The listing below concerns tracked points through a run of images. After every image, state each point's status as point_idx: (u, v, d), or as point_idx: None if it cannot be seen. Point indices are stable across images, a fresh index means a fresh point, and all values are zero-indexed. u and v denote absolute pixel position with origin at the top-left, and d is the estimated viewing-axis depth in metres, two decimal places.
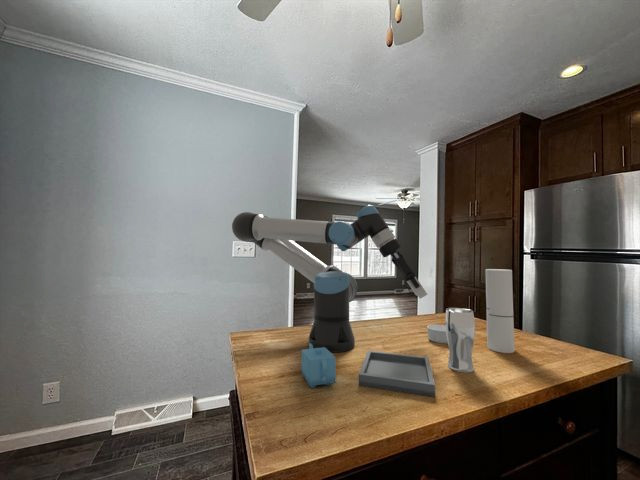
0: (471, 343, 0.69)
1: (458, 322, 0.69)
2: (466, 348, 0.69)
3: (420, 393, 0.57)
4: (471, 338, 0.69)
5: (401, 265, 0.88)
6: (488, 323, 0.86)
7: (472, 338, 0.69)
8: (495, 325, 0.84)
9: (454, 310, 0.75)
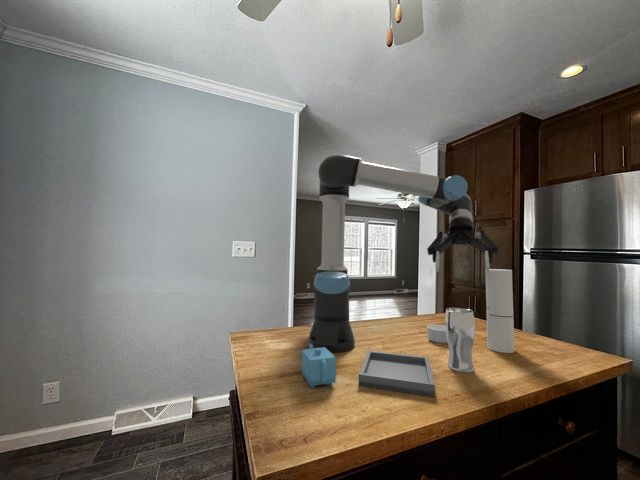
0: (471, 343, 0.69)
1: (458, 322, 0.69)
2: (466, 348, 0.69)
3: (420, 393, 0.57)
4: (471, 338, 0.69)
5: None
6: (488, 323, 0.86)
7: (472, 338, 0.69)
8: (495, 325, 0.84)
9: (454, 310, 0.75)
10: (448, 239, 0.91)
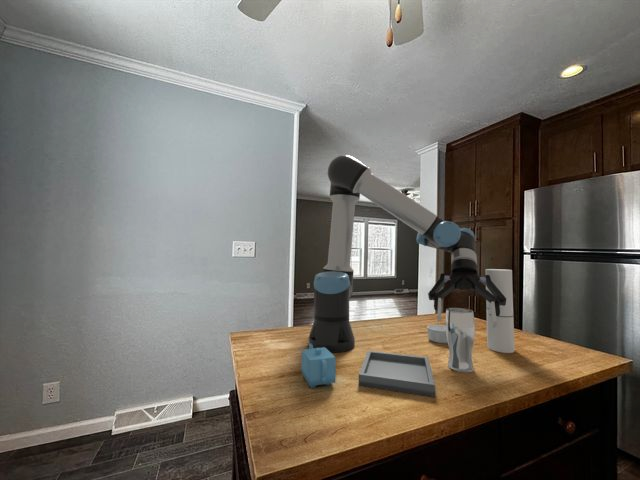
0: (471, 343, 0.69)
1: (458, 322, 0.69)
2: (466, 348, 0.69)
3: (420, 393, 0.57)
4: (471, 338, 0.69)
5: None
6: (488, 323, 0.86)
7: (472, 338, 0.69)
8: None
9: (454, 310, 0.75)
10: (451, 283, 0.84)
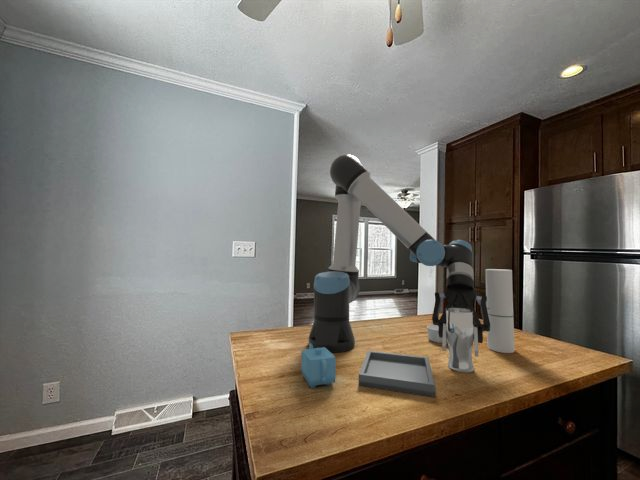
0: (471, 343, 0.69)
1: (458, 321, 0.69)
2: (466, 347, 0.69)
3: (420, 393, 0.57)
4: (471, 338, 0.69)
5: None
6: None
7: (472, 338, 0.69)
8: (495, 325, 0.84)
9: (454, 310, 0.75)
10: (450, 301, 0.78)
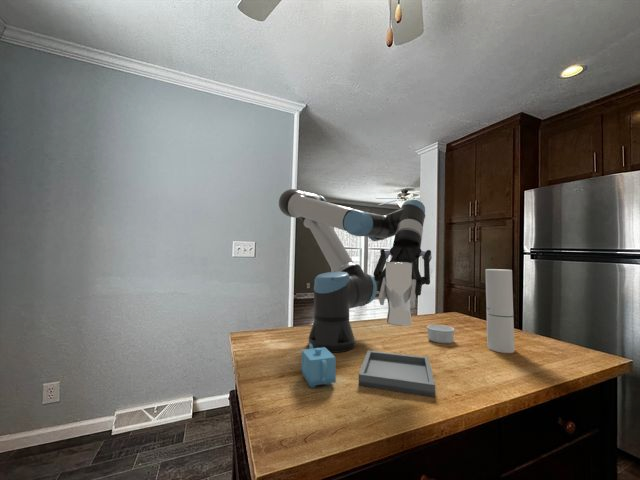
0: (408, 295, 0.65)
1: (395, 272, 0.65)
2: (403, 300, 0.65)
3: (420, 393, 0.57)
4: (408, 290, 0.65)
5: None
6: (488, 323, 0.86)
7: (409, 290, 0.65)
8: (495, 325, 0.84)
9: None
10: (394, 257, 0.74)
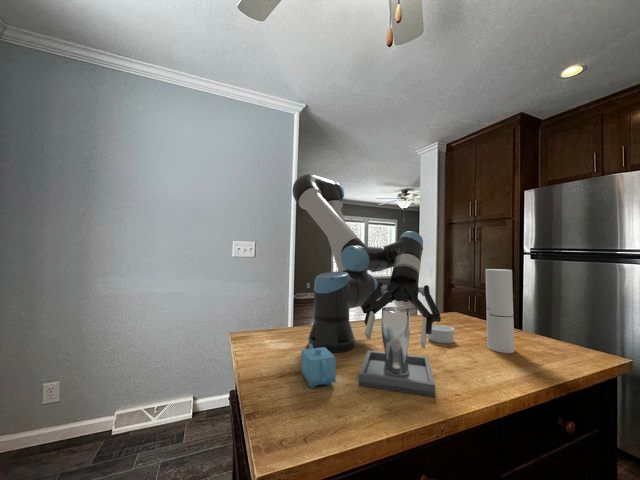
0: (405, 345, 0.64)
1: (391, 322, 0.64)
2: (400, 350, 0.64)
3: (420, 393, 0.57)
4: (405, 339, 0.64)
5: None
6: (488, 323, 0.86)
7: (406, 339, 0.64)
8: (495, 325, 0.84)
9: (392, 309, 0.70)
10: (386, 294, 0.74)
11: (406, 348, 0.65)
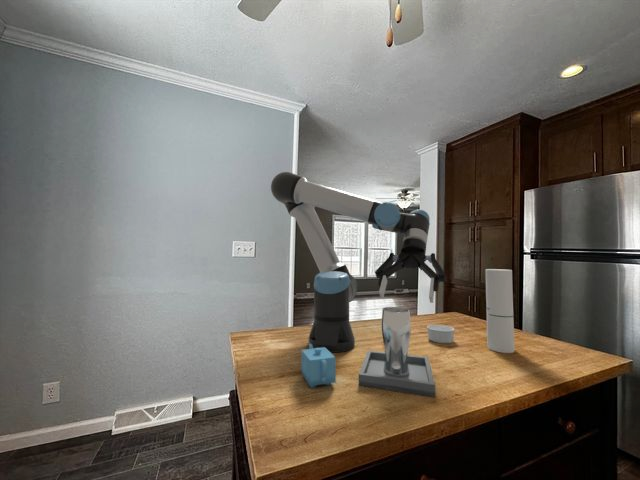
0: (405, 345, 0.64)
1: (392, 322, 0.64)
2: (400, 350, 0.64)
3: (420, 393, 0.57)
4: (405, 339, 0.64)
5: None
6: (488, 323, 0.86)
7: (406, 339, 0.64)
8: (495, 325, 0.84)
9: (393, 309, 0.70)
10: (397, 262, 0.84)
11: (406, 348, 0.65)
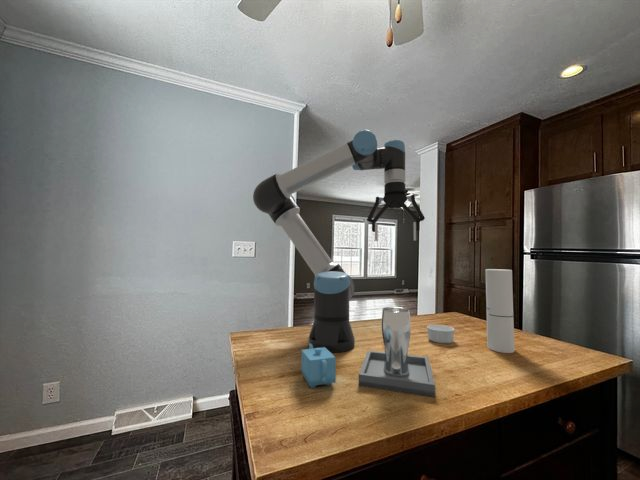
0: (405, 345, 0.64)
1: (392, 322, 0.64)
2: (400, 349, 0.64)
3: (420, 393, 0.57)
4: (405, 339, 0.64)
5: (418, 207, 0.97)
6: (488, 323, 0.86)
7: (406, 339, 0.64)
8: (495, 325, 0.84)
9: (393, 309, 0.70)
10: (384, 207, 0.99)
11: (406, 348, 0.65)
